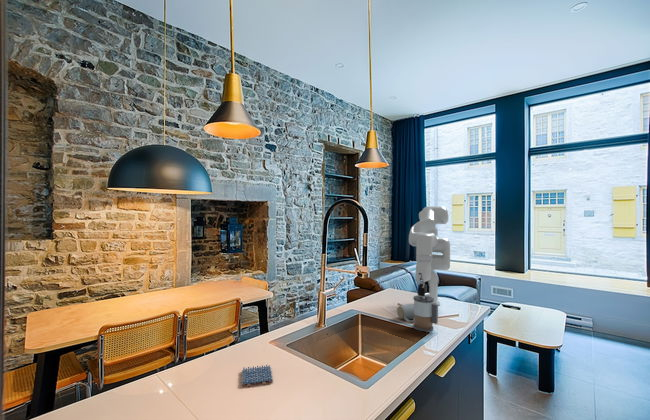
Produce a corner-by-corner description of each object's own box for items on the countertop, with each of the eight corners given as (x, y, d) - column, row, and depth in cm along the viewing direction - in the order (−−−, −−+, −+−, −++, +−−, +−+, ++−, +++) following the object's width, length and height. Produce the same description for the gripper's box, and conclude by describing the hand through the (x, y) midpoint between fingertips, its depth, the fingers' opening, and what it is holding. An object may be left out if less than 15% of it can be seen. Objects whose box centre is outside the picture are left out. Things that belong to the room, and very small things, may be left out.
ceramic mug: (395, 316, 162) (396, 303, 162) (408, 315, 165) (409, 302, 165) (406, 324, 152) (406, 309, 152) (420, 322, 155) (420, 308, 155)
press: (417, 322, 154) (418, 294, 154) (440, 328, 147) (440, 298, 147) (410, 328, 146) (410, 298, 147) (433, 334, 139) (433, 302, 139)
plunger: (419, 307, 151) (420, 282, 152) (431, 310, 148) (431, 284, 148) (415, 310, 147) (415, 284, 147) (427, 313, 143) (427, 286, 143)
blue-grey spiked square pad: (241, 390, 94) (241, 383, 94) (241, 372, 104) (241, 367, 104) (273, 385, 97) (274, 379, 97) (271, 369, 107) (271, 363, 107)
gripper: (423, 255, 157) (422, 289, 156) (410, 259, 143) (409, 296, 143) (437, 257, 152) (436, 292, 152) (425, 261, 139) (424, 299, 138)
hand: (423, 293), depth 147 cm, fingers closed on plunger, 6 cm apart
